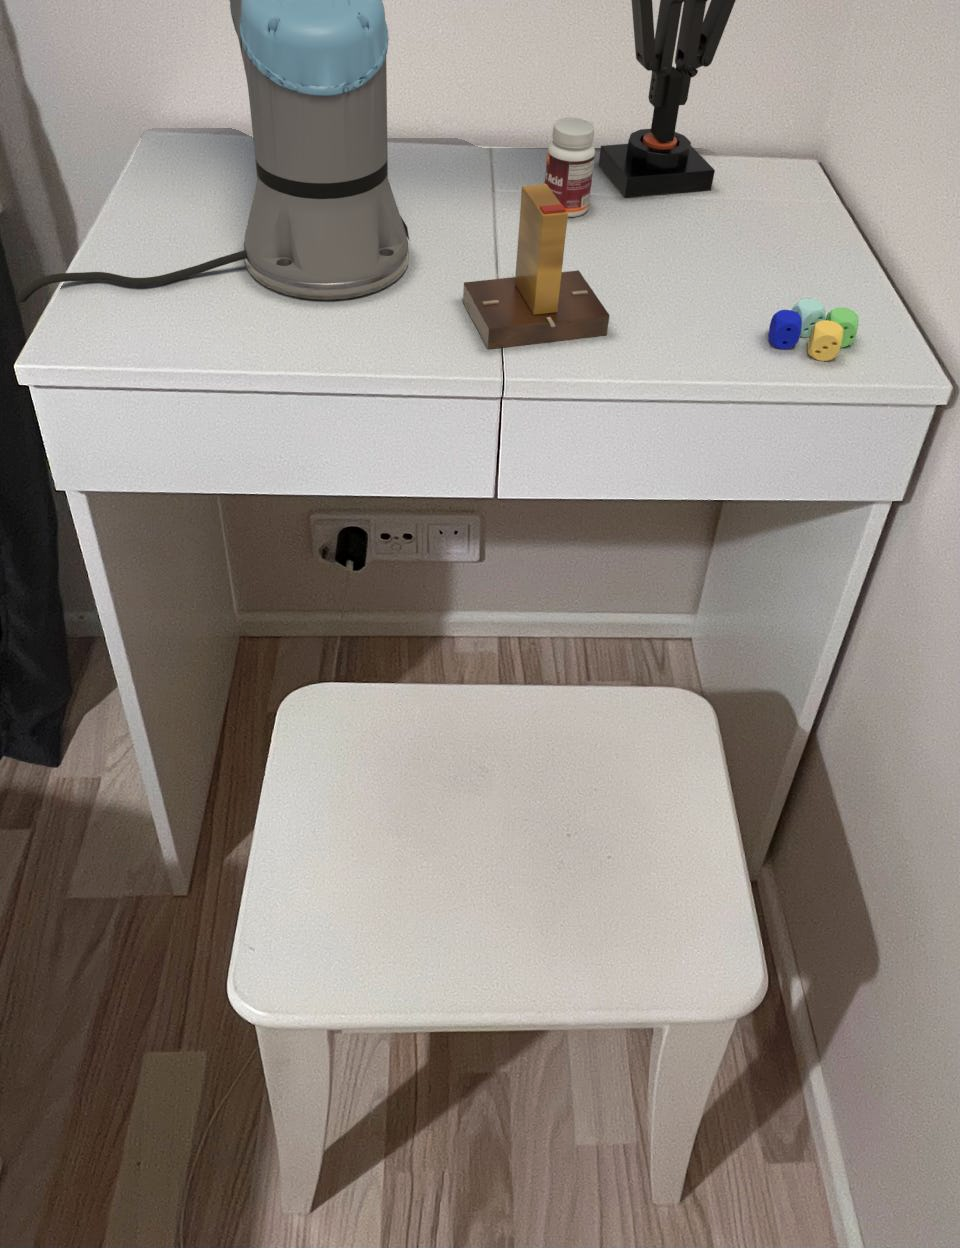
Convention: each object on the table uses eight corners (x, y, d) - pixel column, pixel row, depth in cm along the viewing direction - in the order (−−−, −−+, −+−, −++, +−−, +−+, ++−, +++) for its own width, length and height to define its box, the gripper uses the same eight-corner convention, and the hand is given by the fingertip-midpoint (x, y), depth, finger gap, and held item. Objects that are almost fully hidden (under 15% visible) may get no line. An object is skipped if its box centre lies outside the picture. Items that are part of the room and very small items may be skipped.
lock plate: (490, 354, 96) (491, 332, 94) (460, 297, 102) (461, 275, 100) (610, 340, 98) (613, 318, 96) (573, 285, 104) (575, 264, 103)
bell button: (648, 163, 118) (651, 146, 117) (635, 149, 120) (638, 132, 119) (679, 160, 119) (682, 144, 118) (666, 146, 121) (669, 130, 120)
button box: (624, 198, 118) (630, 160, 115) (598, 165, 123) (602, 128, 120) (711, 190, 120) (718, 153, 117) (681, 158, 125) (687, 122, 122)
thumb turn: (514, 283, 100) (522, 182, 93) (537, 281, 101) (546, 180, 94) (533, 315, 96) (542, 212, 90) (557, 312, 97) (568, 210, 90)
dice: (755, 330, 100) (789, 369, 96) (761, 304, 98) (797, 342, 94) (833, 319, 102) (870, 357, 98) (841, 293, 100) (879, 331, 96)
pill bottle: (534, 201, 116) (541, 119, 110) (574, 194, 118) (583, 113, 112) (555, 221, 113) (563, 138, 107) (596, 214, 115) (607, 131, 109)
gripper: (652, -114, 97) (617, 156, 114) (786, -117, 100) (732, 146, 117) (621, -135, 102) (592, 126, 119) (750, -138, 105) (703, 117, 122)
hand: (661, 136), depth 118 cm, fingers closed
